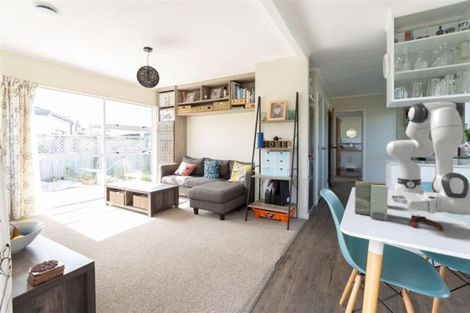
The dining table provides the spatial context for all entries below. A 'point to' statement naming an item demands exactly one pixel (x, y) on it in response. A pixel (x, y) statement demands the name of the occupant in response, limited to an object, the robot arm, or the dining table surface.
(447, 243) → the dining table surface
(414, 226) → the pliers
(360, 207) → the cabinet
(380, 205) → the door panel
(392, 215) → the dining table surface
